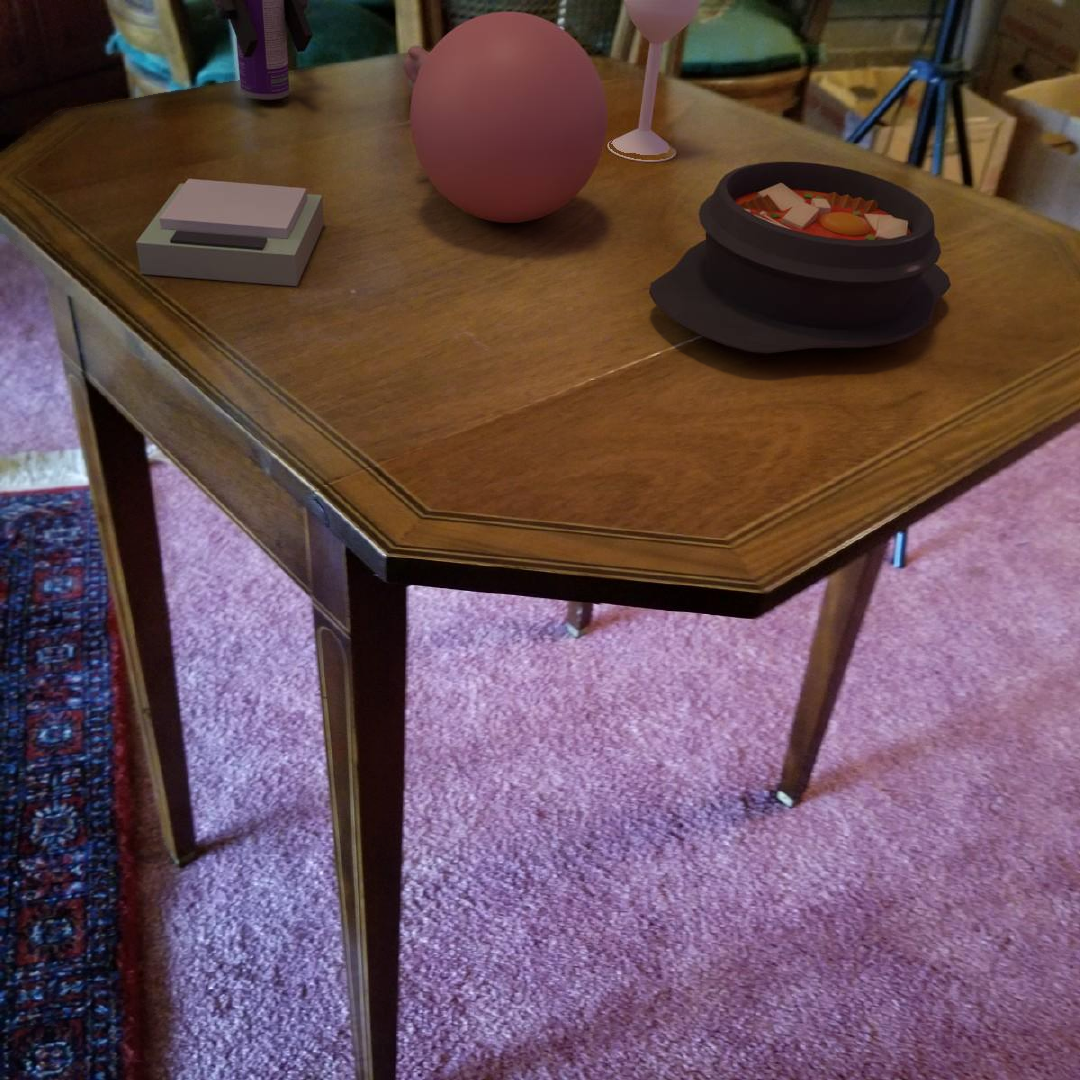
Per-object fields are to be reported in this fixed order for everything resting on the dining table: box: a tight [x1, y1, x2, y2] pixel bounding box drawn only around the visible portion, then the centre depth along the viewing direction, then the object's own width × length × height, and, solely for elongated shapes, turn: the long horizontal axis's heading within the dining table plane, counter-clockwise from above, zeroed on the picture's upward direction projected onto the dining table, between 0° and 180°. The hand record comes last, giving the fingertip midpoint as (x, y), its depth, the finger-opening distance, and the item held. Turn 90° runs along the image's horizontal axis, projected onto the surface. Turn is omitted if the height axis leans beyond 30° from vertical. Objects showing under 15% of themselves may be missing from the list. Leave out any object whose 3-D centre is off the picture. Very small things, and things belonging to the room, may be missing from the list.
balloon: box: [402, 11, 608, 224], centre depth 86 cm, size 15×20×15 cm
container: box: [235, 0, 290, 101], centre depth 102 cm, size 5×5×15 cm
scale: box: [135, 178, 325, 287], centre depth 80 cm, size 11×11×3 cm
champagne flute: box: [607, 0, 700, 163], centre depth 97 cm, size 7×7×24 cm
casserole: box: [648, 161, 952, 354], centre depth 78 cm, size 25×19×8 cm
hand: (278, 45), depth 101 cm, fingers closed on container, 5 cm apart
